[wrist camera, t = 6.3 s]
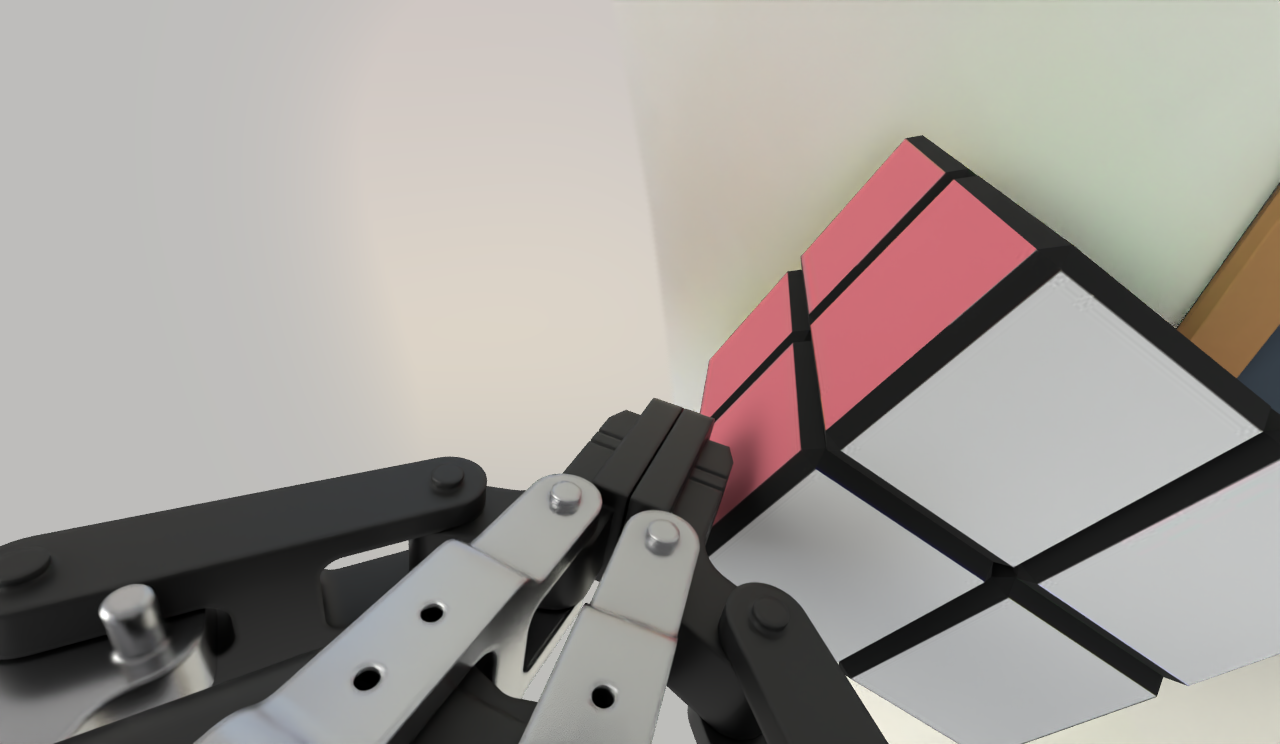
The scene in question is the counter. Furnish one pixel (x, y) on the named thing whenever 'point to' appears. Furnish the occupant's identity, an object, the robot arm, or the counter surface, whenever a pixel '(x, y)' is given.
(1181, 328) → the chalkboard
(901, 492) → the puzzle cube
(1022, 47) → the counter surface
